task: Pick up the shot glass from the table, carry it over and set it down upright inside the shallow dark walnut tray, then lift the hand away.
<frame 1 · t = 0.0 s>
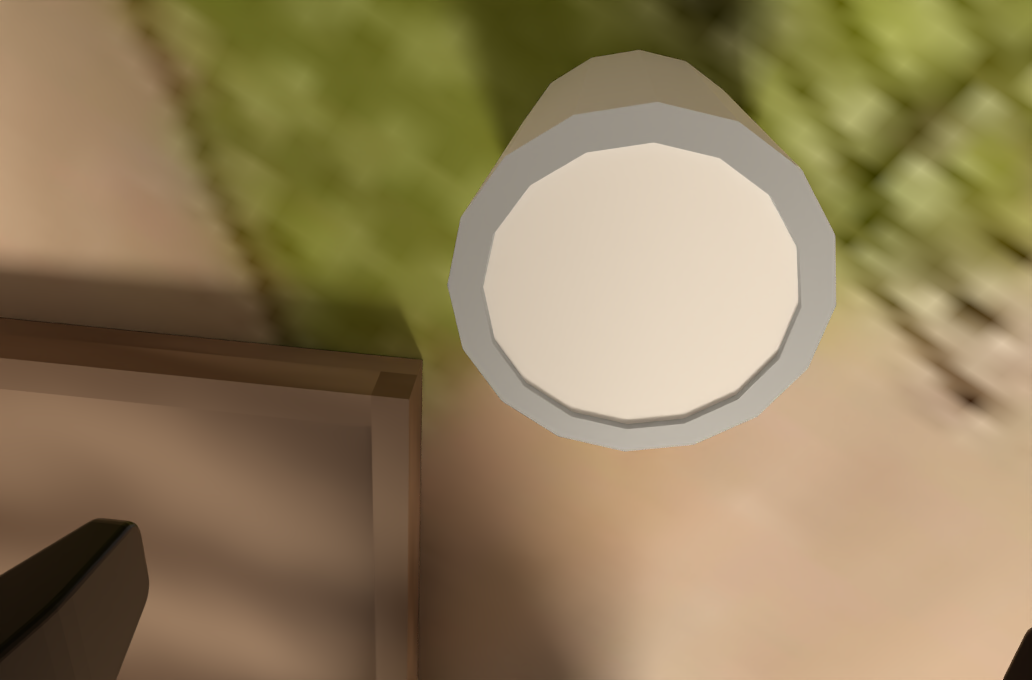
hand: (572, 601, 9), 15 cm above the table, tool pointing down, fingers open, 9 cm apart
shot glass: (629, 166, 22), on the table
walnut tray: (175, 545, 30), on the table
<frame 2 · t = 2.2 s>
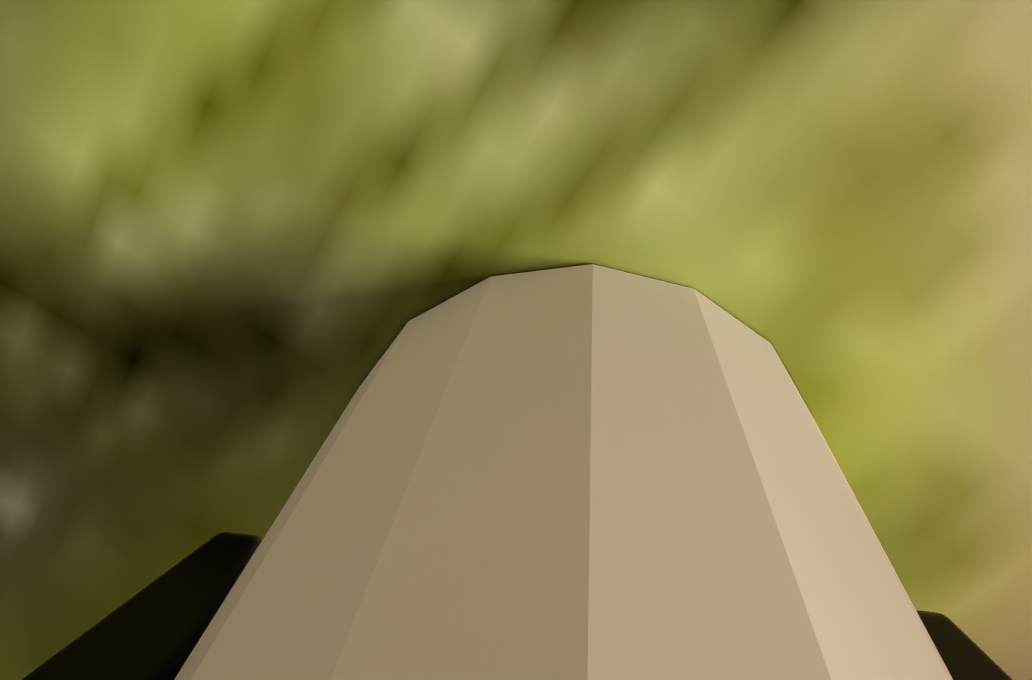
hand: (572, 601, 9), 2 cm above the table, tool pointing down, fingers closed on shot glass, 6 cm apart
shot glass: (577, 466, 11), on the table, touching gripper
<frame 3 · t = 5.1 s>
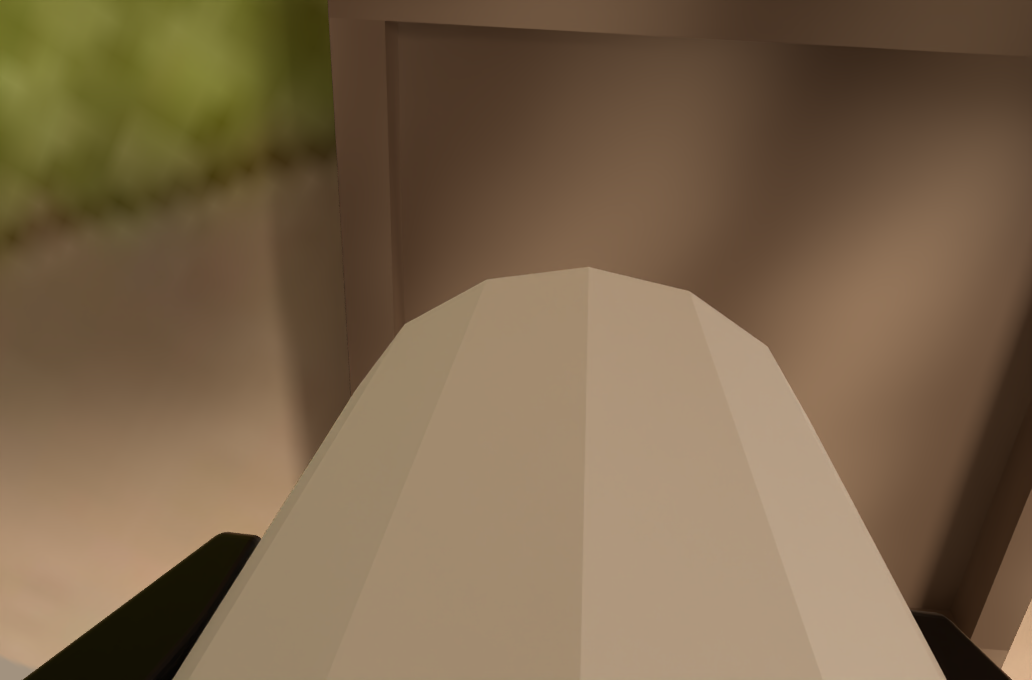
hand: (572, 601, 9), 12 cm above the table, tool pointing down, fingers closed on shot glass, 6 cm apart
shot glass: (574, 468, 11), point 10 cm above the table, touching gripper
walnut tray: (712, 339, 21), on the table
when the fingers open (4 cm above the table, at t = 7.9 s): shot glass drops 1 cm, resting on walnut tray.
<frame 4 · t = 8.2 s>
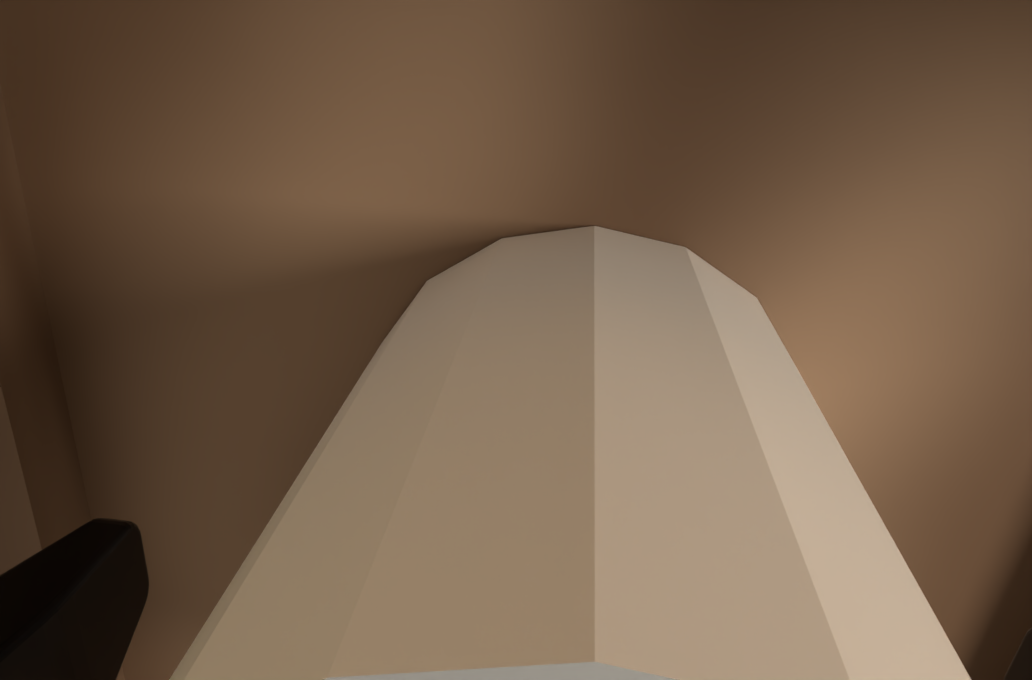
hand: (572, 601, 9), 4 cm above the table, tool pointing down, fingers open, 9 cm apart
shot glass: (581, 415, 12), point 1 cm above the table, touching walnut tray
walnut tray: (578, 390, 13), on the table
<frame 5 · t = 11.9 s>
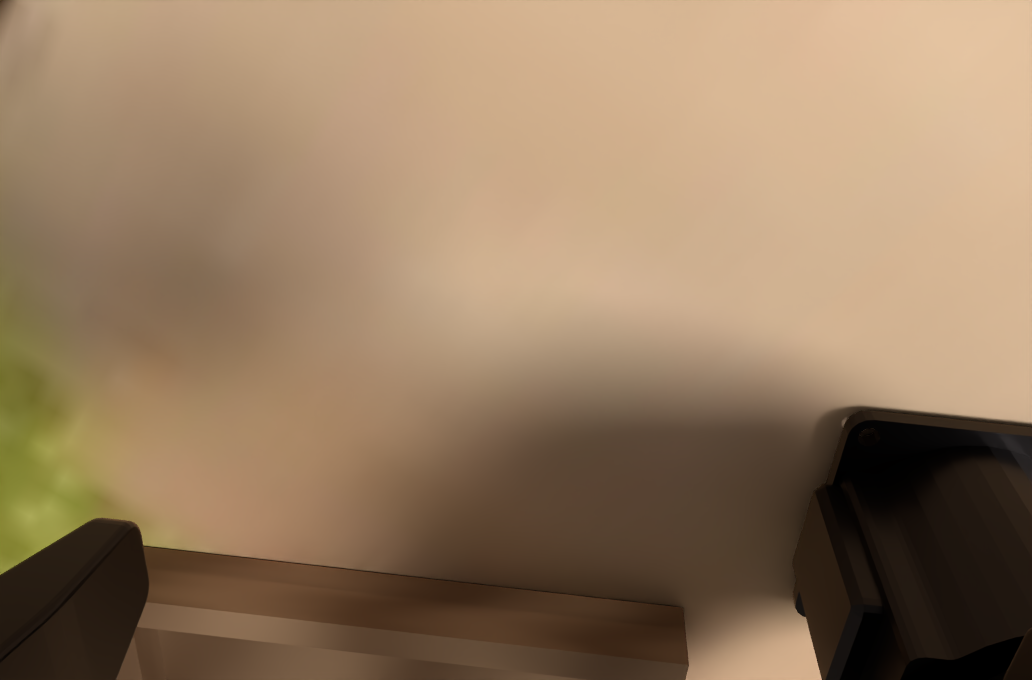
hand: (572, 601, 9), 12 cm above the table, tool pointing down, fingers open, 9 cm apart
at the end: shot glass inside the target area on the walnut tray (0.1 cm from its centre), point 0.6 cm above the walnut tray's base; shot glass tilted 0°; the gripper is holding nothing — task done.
